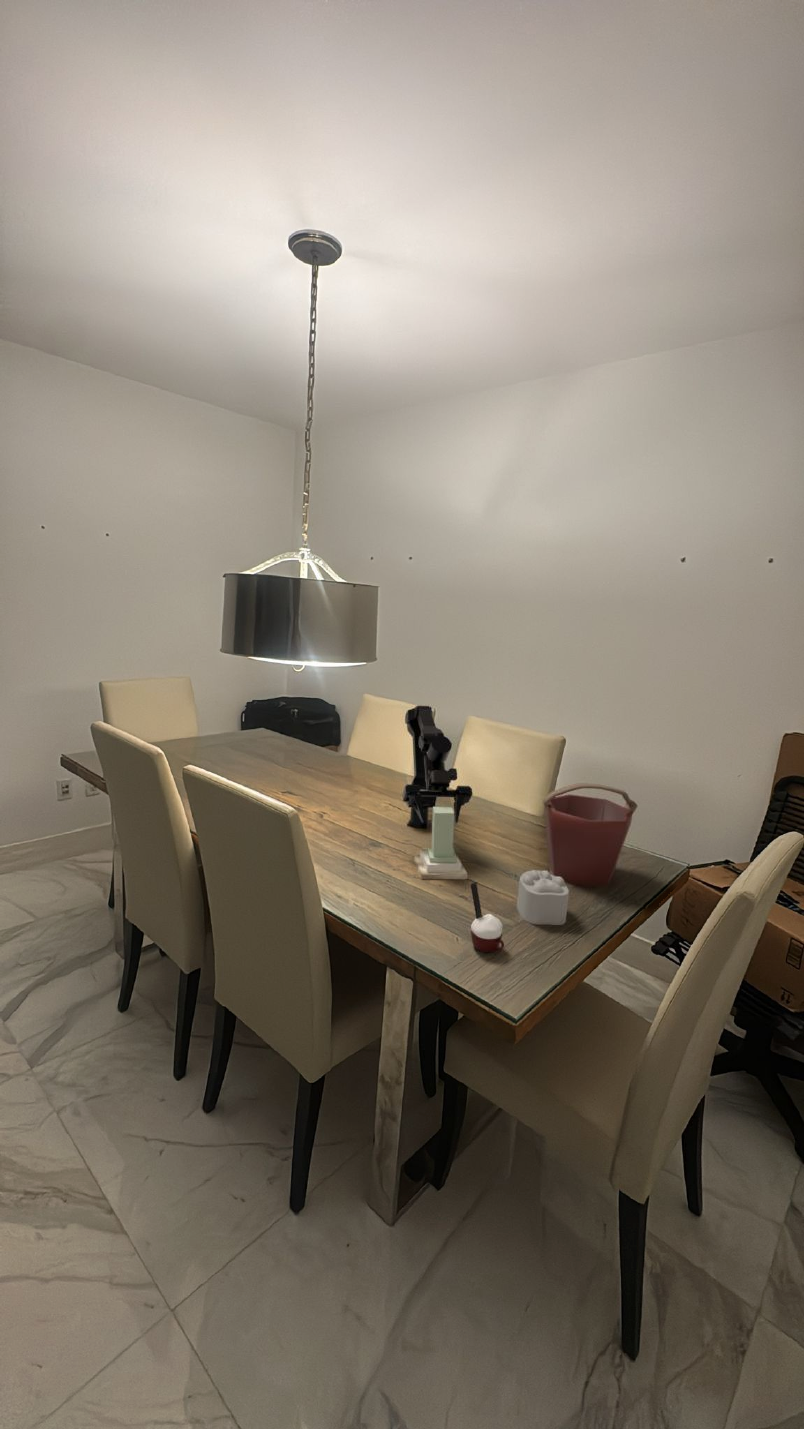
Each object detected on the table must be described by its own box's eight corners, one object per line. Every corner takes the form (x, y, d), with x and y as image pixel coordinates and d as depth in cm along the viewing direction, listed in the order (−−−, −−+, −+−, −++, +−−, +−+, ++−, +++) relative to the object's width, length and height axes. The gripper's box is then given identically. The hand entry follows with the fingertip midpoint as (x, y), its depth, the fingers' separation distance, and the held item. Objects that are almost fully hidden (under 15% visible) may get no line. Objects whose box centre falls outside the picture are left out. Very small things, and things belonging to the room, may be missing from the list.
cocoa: (507, 958, 121) (516, 904, 119) (478, 961, 119) (487, 906, 117) (486, 932, 130) (495, 881, 128) (460, 934, 128) (468, 882, 126)
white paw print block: (524, 924, 135) (528, 888, 133) (511, 896, 147) (514, 863, 146) (570, 925, 135) (574, 889, 134) (552, 898, 148) (556, 865, 147)
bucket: (625, 866, 170) (637, 781, 166) (633, 900, 149) (647, 804, 145) (537, 851, 177) (546, 769, 172) (532, 882, 156) (543, 789, 151)
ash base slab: (413, 862, 165) (414, 855, 165) (456, 862, 167) (457, 855, 167) (421, 881, 154) (421, 874, 153) (467, 881, 155) (467, 874, 155)
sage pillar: (427, 851, 163) (428, 805, 161) (452, 851, 163) (454, 805, 161) (429, 862, 156) (431, 814, 154) (456, 862, 156) (458, 814, 154)
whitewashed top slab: (419, 857, 163) (420, 850, 163) (451, 857, 165) (452, 850, 165) (427, 872, 155) (427, 864, 154) (460, 871, 156) (461, 864, 156)
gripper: (407, 756, 163) (410, 808, 155) (474, 758, 166) (481, 809, 157) (401, 775, 172) (404, 826, 164) (464, 777, 175) (470, 827, 167)
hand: (439, 822), depth 163 cm, fingers open, 9 cm apart
